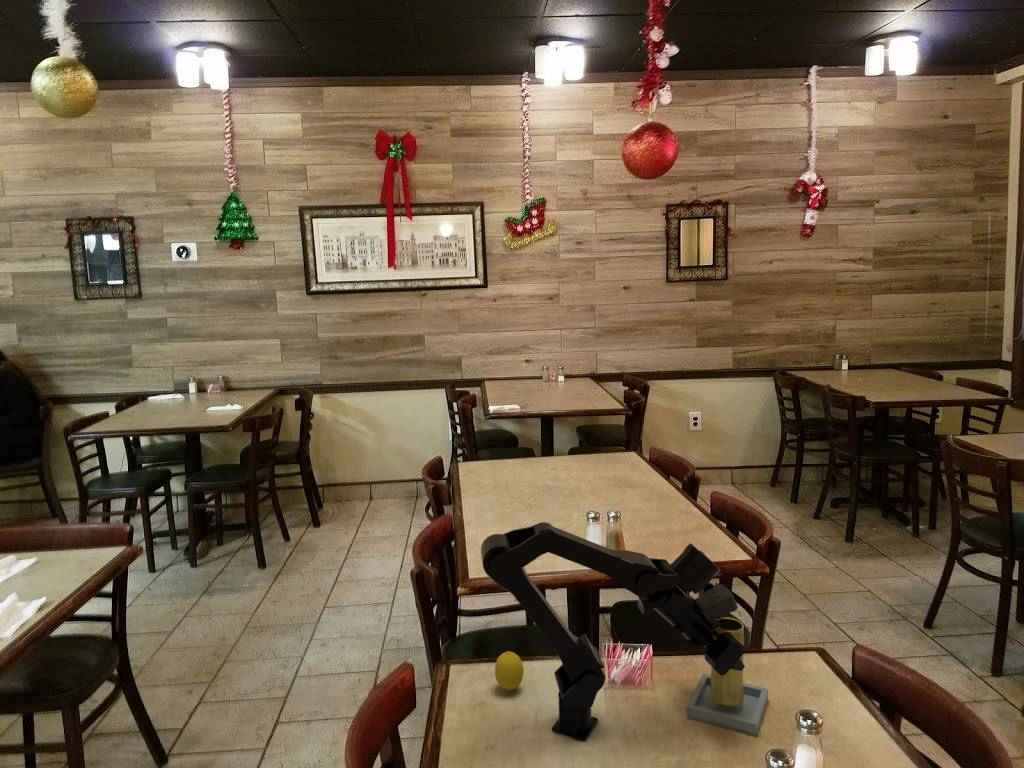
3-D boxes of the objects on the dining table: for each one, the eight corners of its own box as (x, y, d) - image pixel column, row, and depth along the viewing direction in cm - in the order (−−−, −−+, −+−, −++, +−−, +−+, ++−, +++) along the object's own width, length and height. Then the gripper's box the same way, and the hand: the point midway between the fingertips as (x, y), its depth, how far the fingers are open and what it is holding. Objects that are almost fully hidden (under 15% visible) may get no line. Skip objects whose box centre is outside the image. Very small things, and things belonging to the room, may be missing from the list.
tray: (756, 736, 119) (756, 724, 119) (686, 718, 125) (686, 706, 125) (767, 699, 130) (768, 688, 130) (702, 684, 136) (703, 673, 135)
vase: (723, 683, 132) (725, 612, 129) (751, 699, 127) (753, 625, 125) (702, 695, 128) (703, 622, 126) (730, 711, 123) (732, 636, 121)
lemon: (507, 679, 140) (506, 641, 139) (529, 688, 136) (528, 650, 135) (489, 692, 135) (488, 653, 134) (511, 701, 132) (510, 662, 131)
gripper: (735, 597, 114) (794, 652, 118) (685, 555, 132) (737, 604, 136) (690, 648, 114) (750, 702, 117) (646, 599, 132) (699, 647, 135)
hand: (734, 660), depth 127 cm, fingers closed on vase, 5 cm apart
